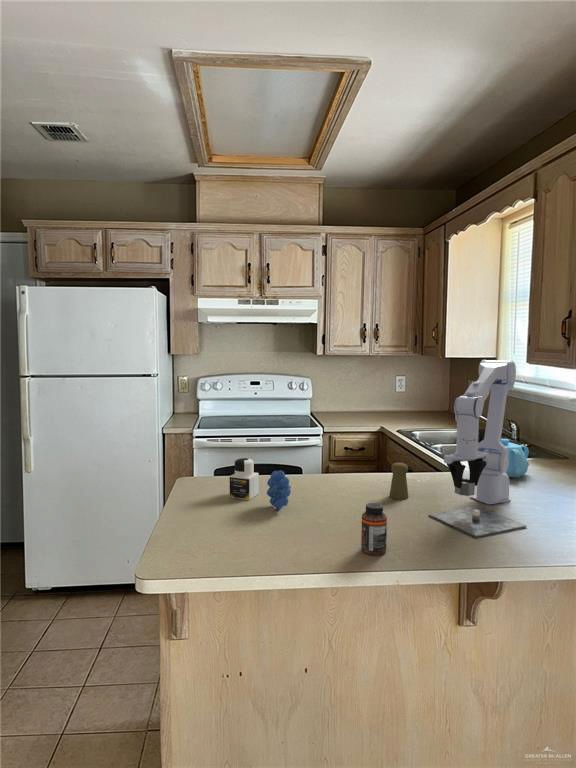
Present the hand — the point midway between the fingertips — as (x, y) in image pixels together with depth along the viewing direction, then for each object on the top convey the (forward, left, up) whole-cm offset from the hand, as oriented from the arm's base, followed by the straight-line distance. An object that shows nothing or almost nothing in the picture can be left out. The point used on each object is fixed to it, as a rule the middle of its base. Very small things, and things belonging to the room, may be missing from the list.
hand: (465, 486), depth 144 cm
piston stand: (0, +4, -9) cm, 10 cm away
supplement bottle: (+37, +9, -9) cm, 39 cm away
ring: (0, 0, -2) cm, 2 cm away
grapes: (+45, -28, -9) cm, 54 cm away
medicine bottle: (+51, -44, -9) cm, 68 cm away
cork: (+6, -23, -9) cm, 25 cm away
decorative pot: (-46, -29, -9) cm, 55 cm away
